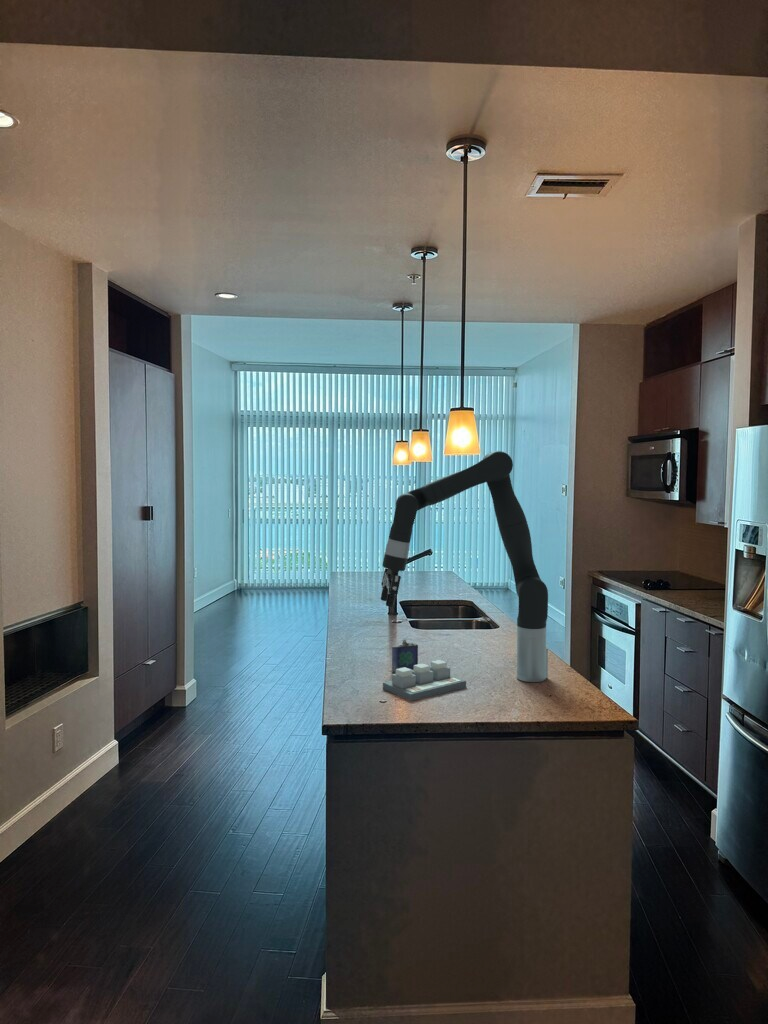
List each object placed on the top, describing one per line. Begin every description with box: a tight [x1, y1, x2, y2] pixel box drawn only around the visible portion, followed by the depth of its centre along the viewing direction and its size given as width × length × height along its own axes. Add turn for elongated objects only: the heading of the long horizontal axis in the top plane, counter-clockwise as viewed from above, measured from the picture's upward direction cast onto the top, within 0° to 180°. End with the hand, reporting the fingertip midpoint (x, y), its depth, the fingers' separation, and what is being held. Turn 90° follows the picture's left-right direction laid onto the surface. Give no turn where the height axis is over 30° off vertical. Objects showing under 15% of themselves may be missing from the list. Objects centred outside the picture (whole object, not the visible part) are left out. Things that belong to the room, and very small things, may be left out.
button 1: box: [395, 667, 412, 678], centre depth 206 cm, size 4×4×3 cm
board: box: [382, 665, 467, 702], centre depth 209 cm, size 22×14×5 cm, turn 126°
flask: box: [391, 639, 419, 674], centre depth 227 cm, size 9×3×11 cm, turn 109°
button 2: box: [430, 659, 448, 670], centre depth 214 cm, size 4×4×3 cm
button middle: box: [414, 663, 431, 674], centre depth 210 cm, size 4×4×3 cm
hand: (386, 603), depth 217 cm, fingers open, 8 cm apart
